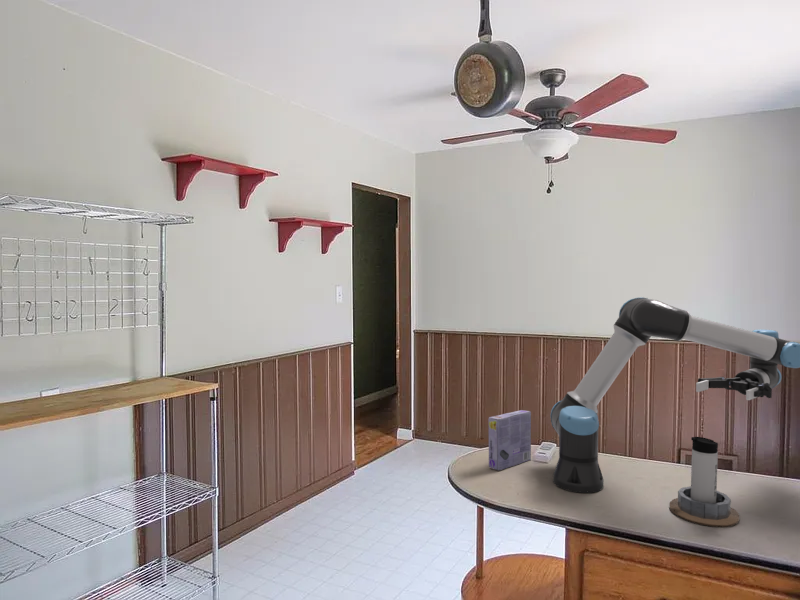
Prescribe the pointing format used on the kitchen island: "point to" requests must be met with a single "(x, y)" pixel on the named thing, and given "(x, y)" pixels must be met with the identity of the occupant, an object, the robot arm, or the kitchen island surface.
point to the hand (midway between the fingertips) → (721, 391)
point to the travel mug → (704, 470)
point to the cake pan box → (509, 439)
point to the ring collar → (704, 510)
